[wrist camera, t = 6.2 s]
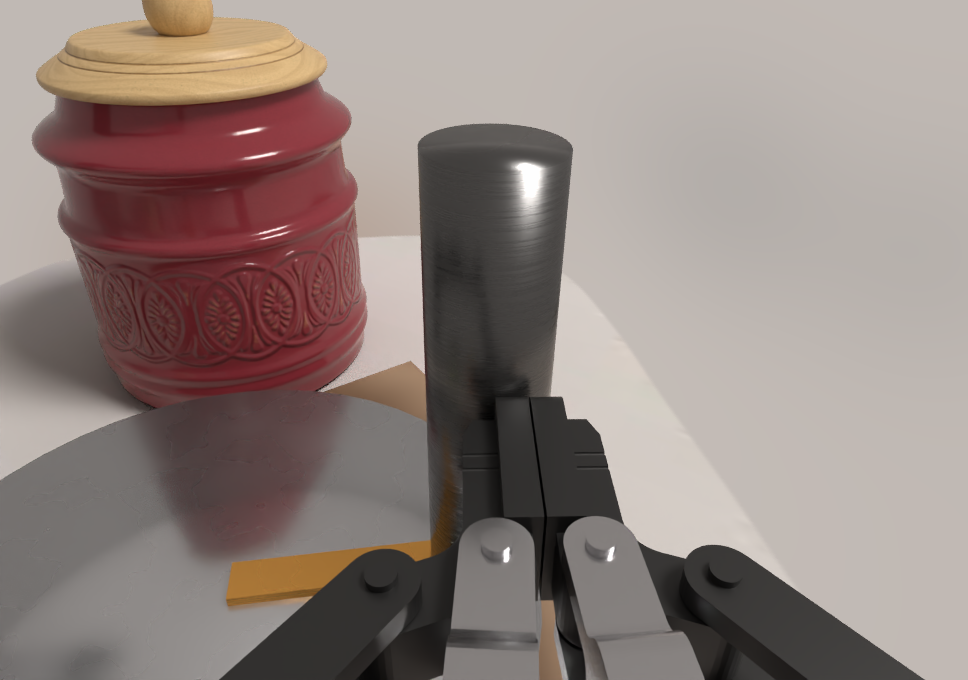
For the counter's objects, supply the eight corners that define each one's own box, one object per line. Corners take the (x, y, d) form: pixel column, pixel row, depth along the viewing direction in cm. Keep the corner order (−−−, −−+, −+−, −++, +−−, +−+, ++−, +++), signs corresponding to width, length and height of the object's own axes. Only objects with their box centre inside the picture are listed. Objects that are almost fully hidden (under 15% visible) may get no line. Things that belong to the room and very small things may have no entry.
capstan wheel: (-434, 1201, 11) (-2319, 775, 4) (11, 452, 26) (-173, 59, 18) (626, 975, 14) (834, 450, 6) (483, 411, 29) (492, 52, 21)
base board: (-392, 1714, 9) (-526, 1762, 8) (-216, 636, 22) (-256, 589, 21) (733, 727, 20) (752, 682, 19) (412, 395, 33) (410, 355, 32)
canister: (356, 276, 43) (327, -45, 34) (385, 400, 33) (355, -13, 23) (132, 299, 40) (30, -46, 31) (86, 443, 30) (-89, -9, 20)
